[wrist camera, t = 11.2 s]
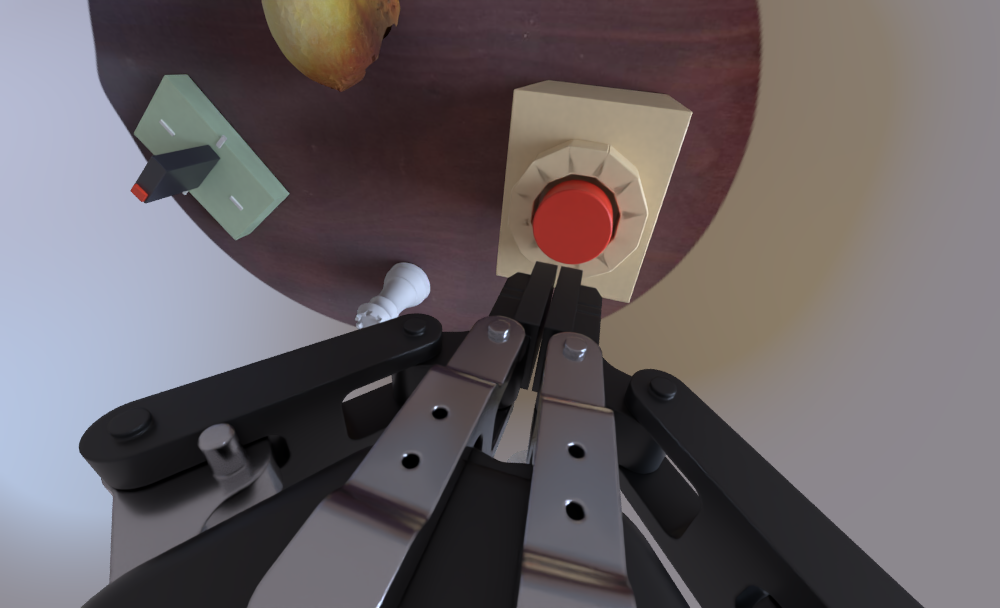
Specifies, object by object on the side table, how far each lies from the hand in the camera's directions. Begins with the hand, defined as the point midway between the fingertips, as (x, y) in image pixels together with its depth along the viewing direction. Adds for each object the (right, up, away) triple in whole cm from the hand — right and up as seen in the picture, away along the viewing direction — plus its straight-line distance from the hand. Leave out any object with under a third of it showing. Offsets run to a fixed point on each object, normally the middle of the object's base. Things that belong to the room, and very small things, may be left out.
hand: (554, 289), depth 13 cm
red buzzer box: (+5, +10, +15) cm, 19 cm away
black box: (-29, +12, +22) cm, 38 cm away
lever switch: (-28, +13, +24) cm, 39 cm away
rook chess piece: (-11, +2, +26) cm, 28 cm away
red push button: (+2, +4, +6) cm, 7 cm away
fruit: (-11, +20, +14) cm, 27 cm away
